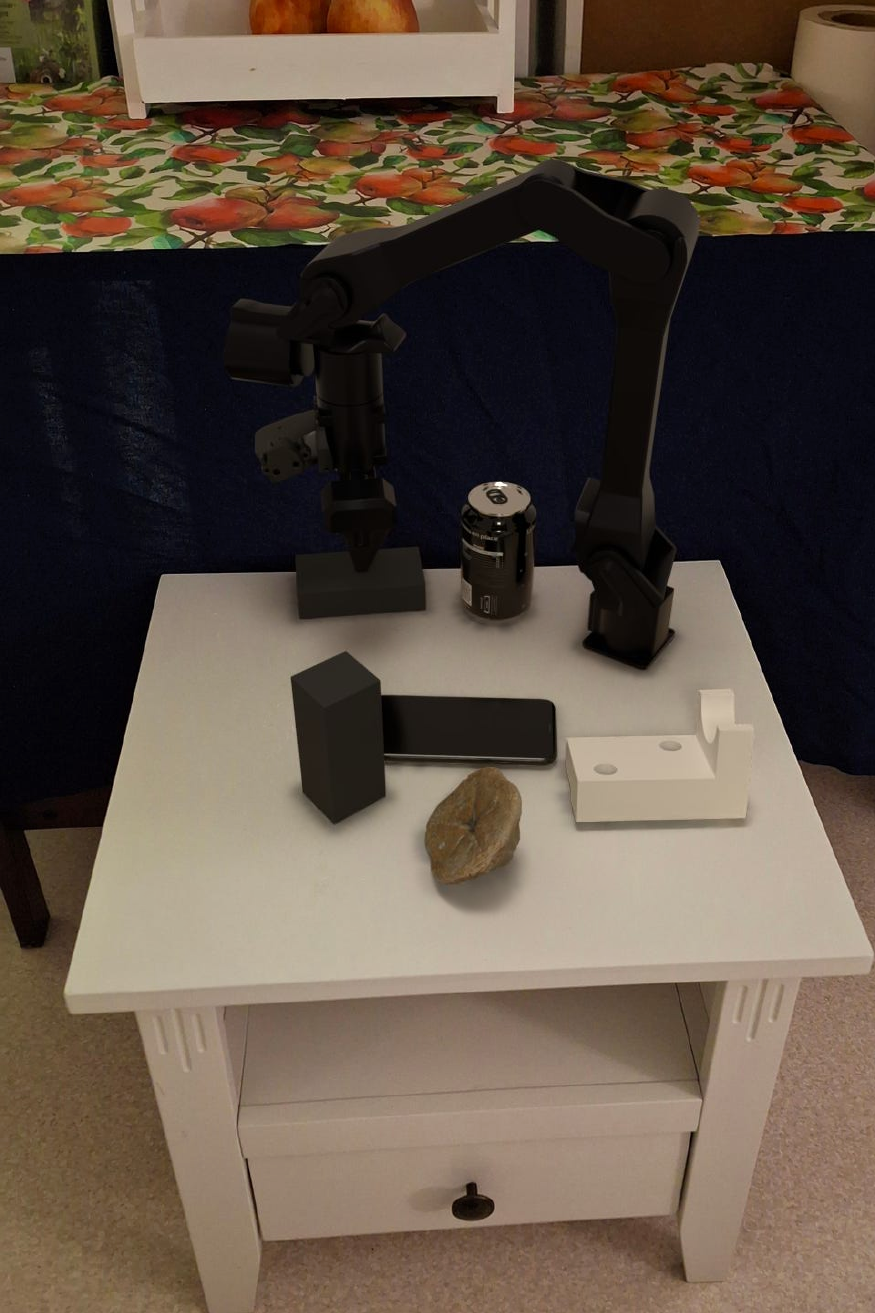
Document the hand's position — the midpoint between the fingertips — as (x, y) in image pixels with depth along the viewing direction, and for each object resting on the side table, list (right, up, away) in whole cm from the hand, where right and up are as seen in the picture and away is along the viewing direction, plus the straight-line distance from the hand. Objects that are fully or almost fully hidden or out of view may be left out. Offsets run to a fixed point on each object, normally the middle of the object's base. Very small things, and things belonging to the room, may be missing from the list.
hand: (358, 543), depth 114 cm
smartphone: (+9, -17, -12) cm, 23 cm away
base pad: (0, -5, +4) cm, 6 cm away
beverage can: (+13, -6, +2) cm, 14 cm away
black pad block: (0, -22, -17) cm, 28 cm away
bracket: (+24, -21, -17) cm, 36 cm away
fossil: (+10, -26, -22) cm, 36 cm away
